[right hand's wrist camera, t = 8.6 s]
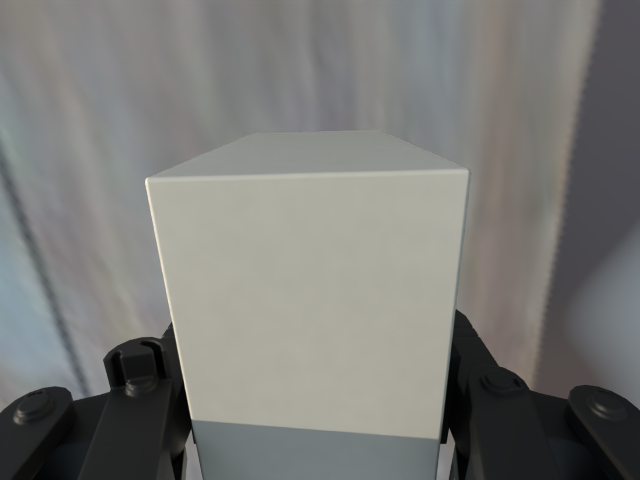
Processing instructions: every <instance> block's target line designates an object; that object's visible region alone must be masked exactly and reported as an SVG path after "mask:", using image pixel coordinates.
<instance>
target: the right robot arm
mask: <svg viewBox="0 0 640 480" xmlns="http://www.w3.org/2000/svg"><path fill="white" fill-rule="evenodd" d="M103 361H104V365H105V369H106V373H107V377H108V380H109V384H110V388H111V390H110V392H108V393H104V394H101V395H97V396H93V397H88V398H84V399H80V400H75V401H73V398H72V395H71V392H69V391H68V390H67V389H66V388H63V387H56V386H55V387H47V388H42V389H39V390H36V391H33V392H30V393H28V394H26V395H24V396H22V397H20V398H19V399H17V400H15V401H14V402H13V403H11V404H10V405H9V406H8V407H6V408H5V409H4V410H3V411H2V412H1V413H0V480H185V478H186V467H187V454H186V448H185V443H186V441H187V438H188V436H189V433H190V430H191V429H192V435H193V441H194V444H196V441H195V436H194V431H193V426H192V420H191V415H190V410H189V405H188V400H187V395H186V390H185V384H184V379H183V374H182V369H181V364H180V359H179V354H178V349H177V343H176V338H175V333H174V328H173V323H172V322H171V324H170V325H169V327H168V330H166V331H165V333H164V334H163V336H162V338H161V339H158V338H154V337H141V338H137V339H133V340H129V341H127V342H125V343H122V344H120V345H118V346H117V347H115V348H114V349H112V350H111V351H110V352H109V353H108V354H107V355H106V357H105V358H104V359H103ZM449 428H450V430H451V433H452V436H453V438H454V441H455V448H454V454H453V459H452V464H451V470H450V476H449V480H454V477H455V480H640V410H639V409H638V408H637V407H635V406H634V405H633V404H632V403H630V402H629V401H628V400H627V399H625V398H623V397H621V396H620V395H618V394H616V393H614V392H612V391H609V390H607V389H604V388H600V387H597V386H589V385H582V386H576V387H574V388H573V389H572V390H571V391H570V393H569V396H568V400H567V399H563V398H558V397H554V396H550V395H545V394H541V393H538V392H534V391H531V390H529V388H528V386H527V385H526V383H525V382H524V380H523V379H521V378H520V377H519V376H518V375H516V374H515V373H513V372H511V371H509V370H507V369H505V368H503V367H499V366H498V364H497V363H496V361H495V360H494V358H493V357H492V355H491V354H490V352H489V351H488V349H487V348H486V346H485V345H484V343H483V342H482V340H481V338H480V337H478V334H477V332H476V331H475V329H474V328H472V325H471V323H470V322H469V320H468V319H467V317H466V316H465V315H464V314H462V313H461V312H459V311H458V310H457V309H456V310H455V319H454V328H453V336H452V345H451V354H450V362H449V371H448V380H447V389H446V397H445V406H444V415H443V423H442V432H441V441H440V444H446V443H447V437H448V431H449Z"/></svg>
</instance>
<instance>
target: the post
mask: <svg viewBox="0 0 640 480" xmlns="http://www.w3.org/2000/svg"><path fill="white" fill-rule="evenodd" d="M470 180H471V171H470V169H468V168H465V167H463V166H461V165H458V164H456V163H454V162H452V161H449V160H447V159H445V158H442V157H440V156H438V155H436V154H433V153H431V152H429V151H426V150H424V149H422V148H420V147H417V146H415V145H413V144H410V143H408V142H406V141H404V140H401V139H399V138H397V137H394V136H392V135H390V134H388V133H385V132H383V131H381V130H351V131H316V132H282V133H252V134H250V135H247V136H245V137H243V138H240V139H238V140H235V141H233V142H231V143H228V144H226V145H224V146H221V147H219V148H217V149H214V150H212V151H209V152H207V153H205V154H202V155H200V156H198V157H195V158H193V159H191V160H188V161H186V162H183V163H181V164H179V165H176V166H174V167H172V168H169V169H167V170H165V171H162V172H160V173H157V174H155V175H153V176H150V177H148V178H146V182H145V184H146V189H147V194H148V199H149V205H150V210H151V215H152V220H153V225H154V230H155V235H156V241H157V246H158V251H159V256H160V261H161V266H162V271H163V277H164V282H165V287H166V292H167V297H168V302H169V307H170V313H171V318H172V323H173V328H174V333H175V338H176V343H177V349H178V354H179V359H180V364H181V369H182V374H183V379H184V384H185V390H186V395H187V400H188V405H189V410H190V415H191V420H192V426H193V431H194V436H195V441H196V446H197V451H198V456H199V462H200V467H201V472H202V477H203V480H436V476H437V467H438V458H439V449H440V441H441V432H442V423H443V415H444V406H445V397H446V389H447V380H448V371H449V362H450V354H451V345H452V336H453V328H454V319H455V310H456V302H457V293H458V284H459V276H460V267H461V258H462V249H463V241H464V232H465V223H466V215H467V206H468V197H469V189H470Z"/></svg>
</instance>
